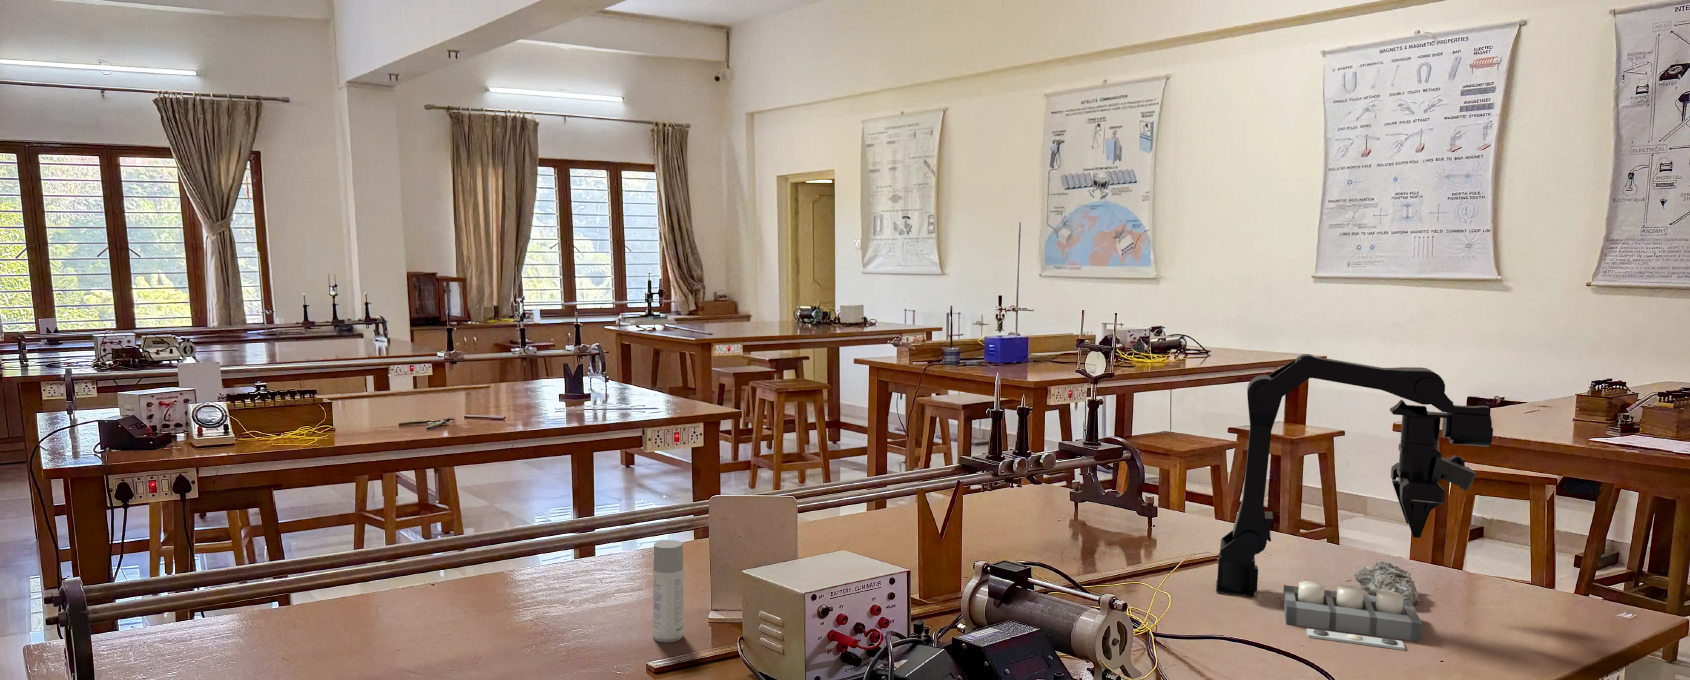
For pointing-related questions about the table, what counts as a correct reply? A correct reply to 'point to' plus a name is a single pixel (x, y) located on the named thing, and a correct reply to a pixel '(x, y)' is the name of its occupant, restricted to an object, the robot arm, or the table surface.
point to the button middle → (1349, 597)
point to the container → (668, 591)
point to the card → (1355, 639)
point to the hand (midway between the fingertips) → (1413, 530)
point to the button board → (1352, 616)
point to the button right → (1389, 602)
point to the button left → (1311, 592)
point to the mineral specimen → (1387, 580)
